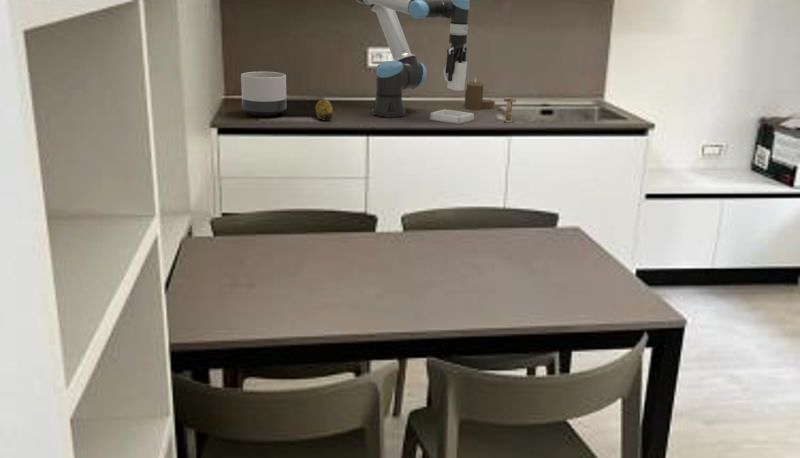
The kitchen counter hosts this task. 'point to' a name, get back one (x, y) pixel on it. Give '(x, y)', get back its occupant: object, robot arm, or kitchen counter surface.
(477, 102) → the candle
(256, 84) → the planter
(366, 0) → the robot arm
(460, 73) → the mug
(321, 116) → the potato
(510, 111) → the post
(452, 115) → the tray
